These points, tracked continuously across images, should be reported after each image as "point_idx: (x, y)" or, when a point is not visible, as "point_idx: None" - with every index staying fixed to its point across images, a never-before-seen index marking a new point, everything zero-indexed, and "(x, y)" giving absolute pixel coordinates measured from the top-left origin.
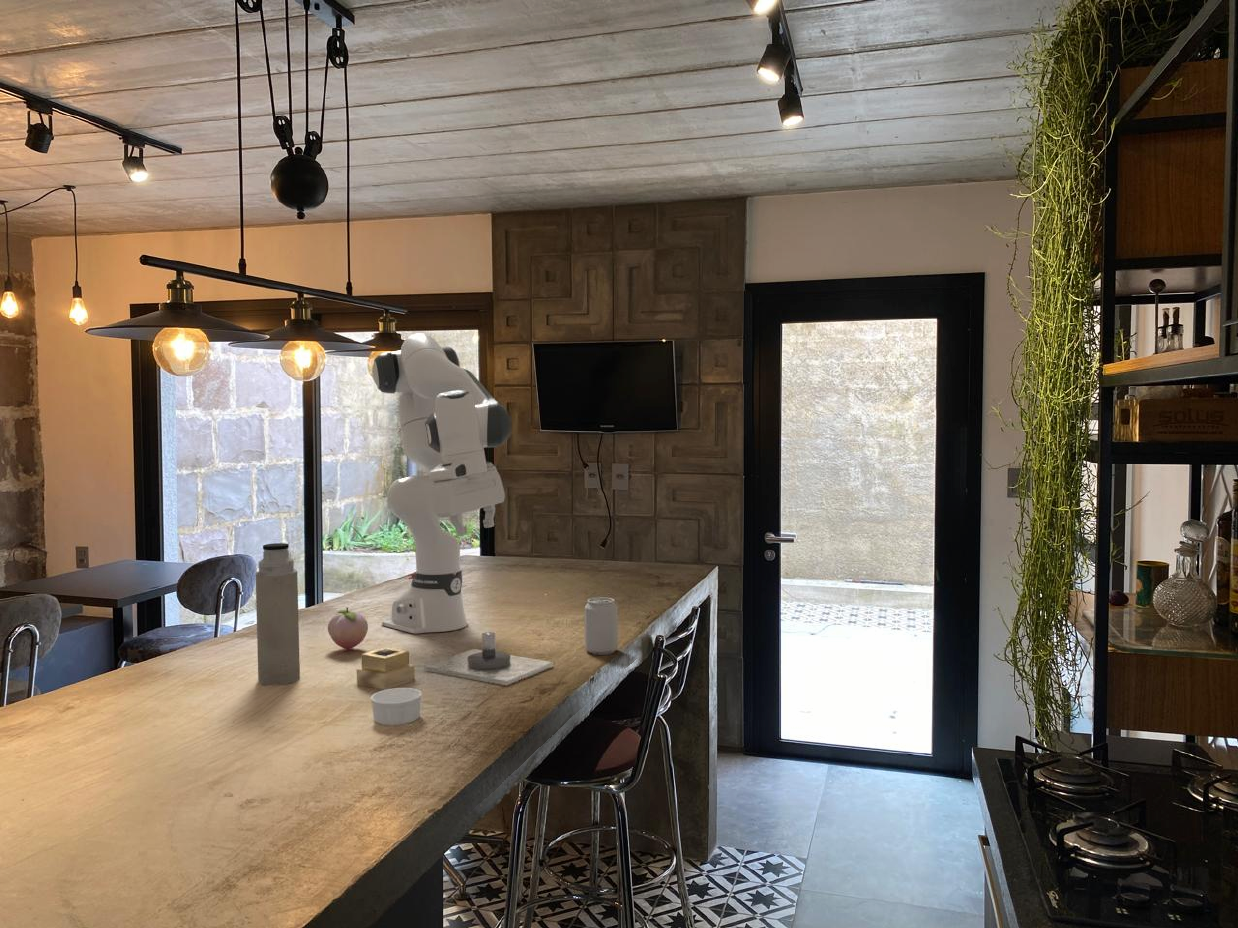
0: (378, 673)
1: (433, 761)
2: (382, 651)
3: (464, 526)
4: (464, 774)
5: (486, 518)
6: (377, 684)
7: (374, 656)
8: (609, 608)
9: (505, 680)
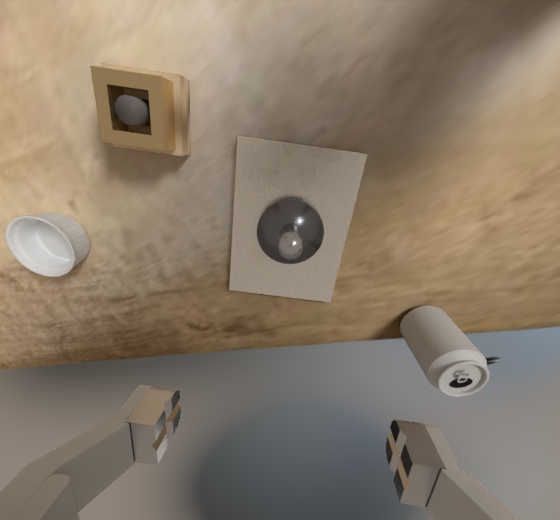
0: None
1: (21, 331)
2: (122, 106)
3: (151, 455)
4: (24, 361)
5: (441, 482)
6: None
7: (97, 109)
8: (436, 387)
9: (230, 288)
